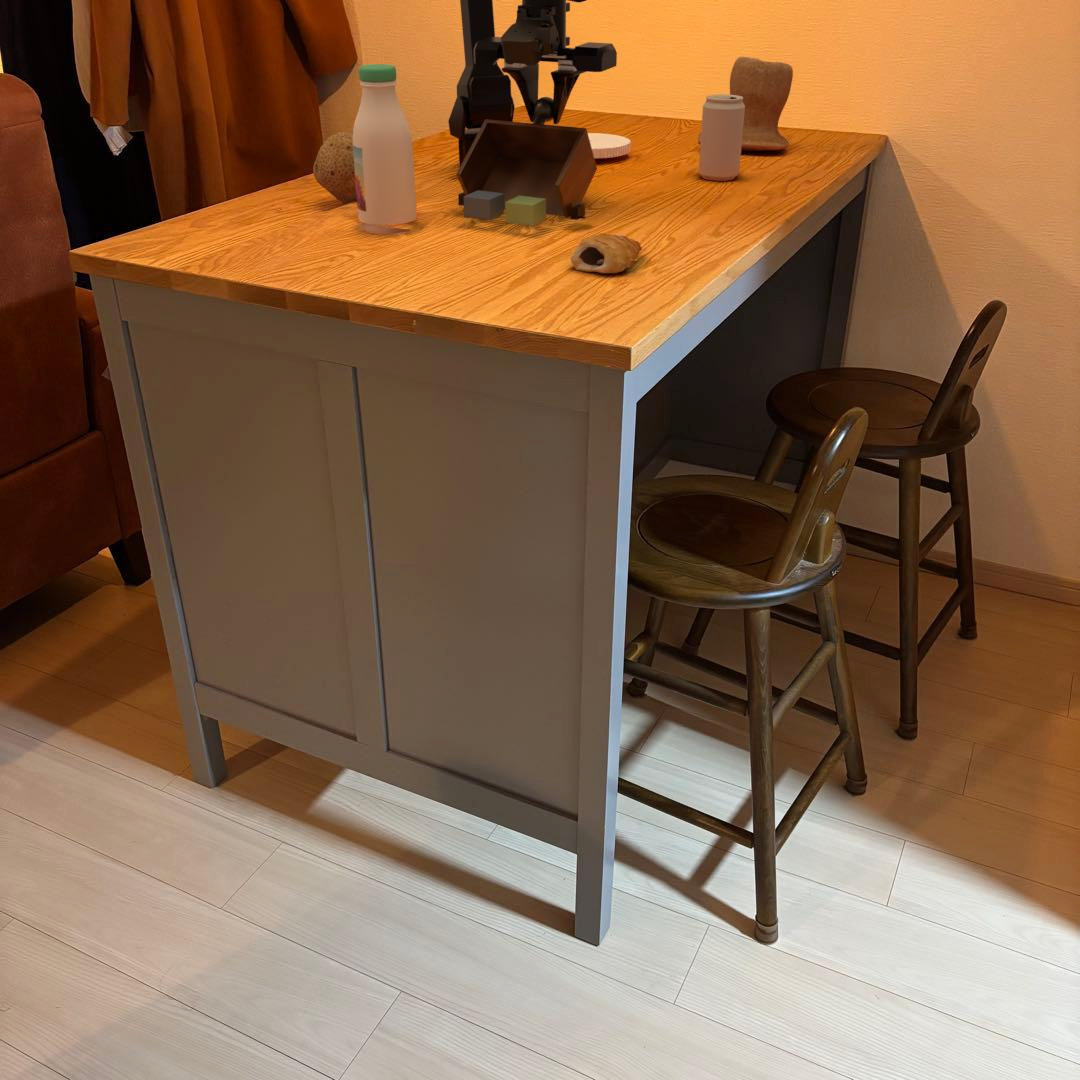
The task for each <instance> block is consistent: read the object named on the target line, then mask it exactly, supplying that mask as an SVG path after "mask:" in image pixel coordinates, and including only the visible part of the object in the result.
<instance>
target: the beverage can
mask: <svg viewBox="0 0 1080 1080" xmlns="http://www.w3.org/2000/svg"><path fill="white" fill-rule="evenodd" d="M742 100H743V97H742V96H738V95H730V94H722V93H721V94H710V95H707V96H705V102H704V103H703V105H702V115H701V131H700V132H701V142H700V144H699V159H698V174H699V175H700V176H701V177H702V179H704V180H708V181H716V182H717V181H719V182H724V181H732V180H734V179H735V178H736V177H738V175H740V169H741V158H742V157H741V156H742V151H741V147H742V135H743V124H744V112H745V105H744V103H743V101H742Z"/></svg>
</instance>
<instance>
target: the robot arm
mask: <svg viewBox="0 0 1080 1080" xmlns="http://www.w3.org/2000/svg"><path fill="white" fill-rule="evenodd" d="M567 1H569V2H567ZM586 1H587V0H521V4H518V5H517V9H516V19H515V23H513V24H512V23H511V25H510V26H509V27H508V28H507V30H506V31H505V32H504V33H503V34H502V36H496V28H495V17H494V16H495V15H494V3H493V0H459V2H460V5H459V6H460V16H461V27H462V39H463V51H464V53H463V54H464V63H465V65H464V66H465V67H464V69H463V71H462V73H461V75H460V78H459V80H458V82H457V84H456V99H455V101H454V103H453V107H452V109H451V113H450V115H449V118H448V129H449V134H450V136H452V137H453V138H456V139H458V141H457V142H458V166H459V168H460V166H461V164H462V163H463V161H464V159H465V157H466V155H467V153H468V151H469V149H470V147H471V146H472V144H473V142H474V140H475V138H476V136H477V134H478V132H479V131H480V129H481V127H482V125H483V123H484V121H485V119H488V120H499V121H510V122H514V115H515V103H514V98H513V96H512V80H511V78H512V79H513V81H514V82H515V84H516V86H517V88H518V90H519V93H520V96H521V99H522V101H523V104H524V107H525V109H526V110H525V111H526V113H527V115H528V118H529V121H530V123H533V122H534V120H535V118H536V116H535V113H534V106H535V103H536V102H537V100H539V79H540V78H539V76H540V75H539V74H540V73H539V72H540V64H539V63H540V62H545V63H546V62H547V63H557V68H558V69H556V70H553V71H550V76H551V78H552V82H553V98H552V99H553V120H552V121H553V125H558V124H559V123H560V122H561V120H562V117H563V114H564V111H565V109H566V106H567V104H568V101H569V99H570V95H571V93H572V91H573V88H574V87H575V85H576V83H577V81H578V79H579V77H580V75H581V74H584V73H587V72H588V73H590V72H591V73H601V72H604V71H607V70H610V69H613V68H615V67H617V62H618V61H617V60H618V56H617V55H618V52H617V50H616V48H615V45H614V44H613V43H609V42H591V41H588V42H584V43H582V44H579V45H576V46H574V47H568V46H570V45H571V41H570V40H571V37H570V36H567V13H568V12H571V2H573V3H583V2H586ZM500 59H501V60H502V59H503V64H504V65H503V66H504V67H501V68H500V66H499V64H498V61H499V60H500ZM510 77H511V78H510ZM459 168H458V169H459Z"/></svg>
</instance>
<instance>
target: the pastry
mask: <svg viewBox="0 0 1080 1080" xmlns="http://www.w3.org/2000/svg"><path fill="white" fill-rule="evenodd" d="M641 251H642V245H641V243H640V242H639V241H637V240H635V239H632V238H629V237H628V236H625V235H618V234H609V233H608V234H607V233H598V234H592V235H591V236H589V237H584V238H582V240H580V242H579V244H578V245H577V246H576V248H575V249H574V251H573V253H572V255H571V256H570V262H571V264H572V265H573V266H574V269H575V270H577V271H580V272H581V271H582V272H587V273H588V272H589V273H590V272H595V273H599V274H617V273H620V272H623V271H624V270H625V269H627V268H628V270H629V269H631V268H632V267H634V266H635V265H636V264H637V263H638V262H639V260H634V259H636V257H637V256H638V255H639V254H640V252H641Z"/></svg>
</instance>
